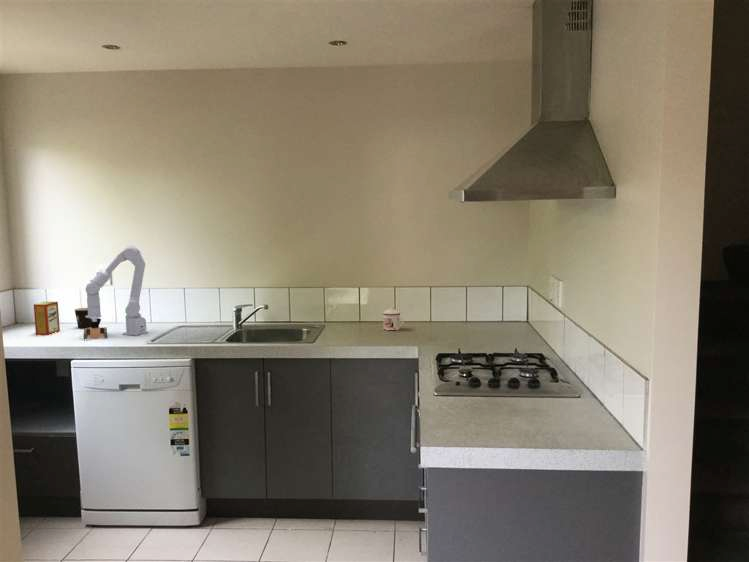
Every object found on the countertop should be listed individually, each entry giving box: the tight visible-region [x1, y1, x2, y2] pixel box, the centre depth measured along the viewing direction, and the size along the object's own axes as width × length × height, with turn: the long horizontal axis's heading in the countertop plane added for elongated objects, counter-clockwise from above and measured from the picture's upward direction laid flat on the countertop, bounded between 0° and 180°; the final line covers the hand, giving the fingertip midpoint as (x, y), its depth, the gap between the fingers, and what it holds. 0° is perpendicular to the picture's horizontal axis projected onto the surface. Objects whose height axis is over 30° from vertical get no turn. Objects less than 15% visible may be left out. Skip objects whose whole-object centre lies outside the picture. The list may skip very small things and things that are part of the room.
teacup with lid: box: [382, 306, 405, 331], centre depth 310 cm, size 12×9×12 cm
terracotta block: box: [89, 327, 102, 339], centre depth 297 cm, size 4×4×4 cm
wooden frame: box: [82, 327, 108, 341], centre depth 300 cm, size 14×10×3 cm
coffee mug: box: [74, 307, 91, 330], centre depth 321 cm, size 12×9×10 cm
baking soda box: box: [33, 301, 61, 336], centre depth 308 cm, size 10×6×16 cm
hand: (95, 333), depth 301 cm, fingers closed
